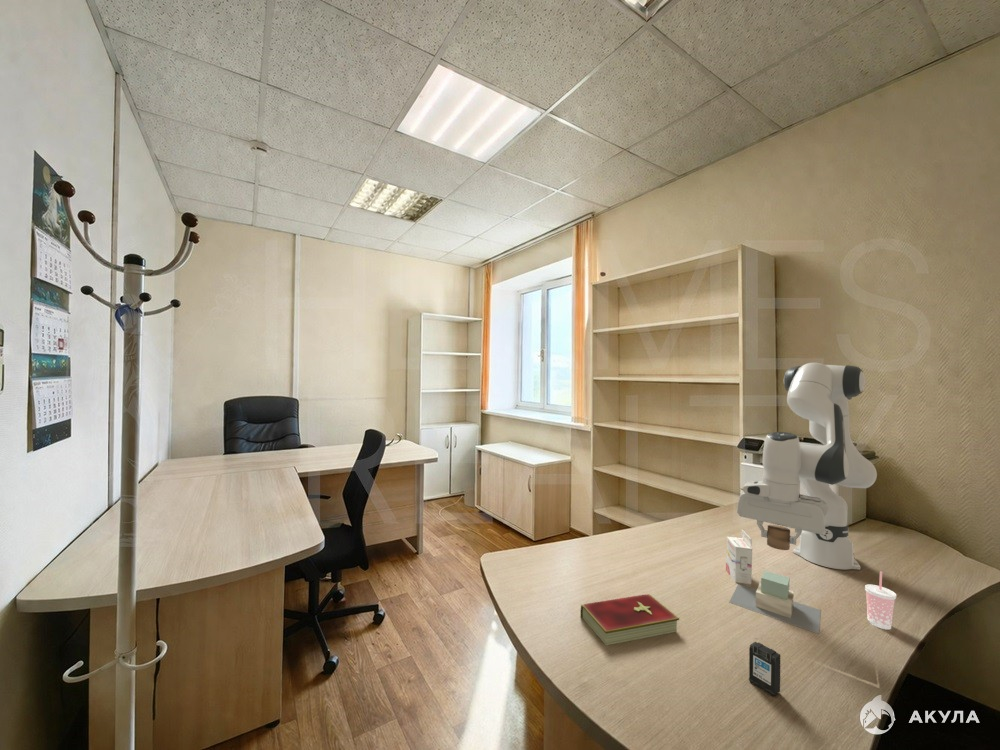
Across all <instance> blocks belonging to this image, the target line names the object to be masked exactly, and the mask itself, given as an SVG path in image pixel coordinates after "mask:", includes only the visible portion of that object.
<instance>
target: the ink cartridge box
mask: <svg viewBox="0 0 1000 750" xmlns="http://www.w3.org/2000/svg"><path fill="white" fill-rule="evenodd" d="M752 541H753V540H752V538H751V537H750V536H749V535H748V533H746V532H745V530H744V529H741V537H735V536H726V556H725V557H726V560H725V570H726V572H727V574H728V575H729V576H730V577H731V579H732V580H733V582H734V583H738V584H746V585H752V571H753V569H752V567H753V542H752Z"/></svg>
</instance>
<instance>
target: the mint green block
mask: <svg viewBox="0 0 1000 750" xmlns="http://www.w3.org/2000/svg"><path fill="white" fill-rule="evenodd" d="M790 579H791V577H788V576H786V575H782V574H779V573H775V572H773V571H768V570H765V569H764V570H763V572H762V575H761V577H760V581H761V592H762V593H765V594H769V595H772V596H775V597H778V598H781V599H784V600H787V598H788V594H789V590H790V582H791V581H790Z"/></svg>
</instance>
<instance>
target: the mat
mask: <svg viewBox="0 0 1000 750" xmlns="http://www.w3.org/2000/svg"><path fill="white" fill-rule="evenodd" d="M756 591H757V589H756V588H753V587H750V586H747V585H743V584H742V583H738V584H737V586H736V588H735V589H734V592H733V593H732V596H731V598H730V599H729V600H728V603H729V604H732V605H735V606H738V607H740V608H744V609H747V610H749V611H752V612H755V613H758V614H762V615H763V616H767V617H769V618H772V619H775V620H777V621H781V622H783V623H786V624H790V625H792V626H795V627H798V628H801V629H803V630H807V631H810V632H812V633H815V634H818V635H819V634H820V628H821V627H820V625H821V614H822V613H821V612H822V609H819V608H816V607H812V606H809V605H806V604H803V603H801V602H797V601H794V602H793V610H792V615H791V618H788V617H785V616H782V615H779V614H776V613H774V612H771V611H768V610H765V609H762V608H759V607H756Z"/></svg>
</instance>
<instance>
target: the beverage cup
mask: <svg viewBox="0 0 1000 750" xmlns="http://www.w3.org/2000/svg"><path fill="white" fill-rule="evenodd" d="M878 584H879V585H876V584H865V585H864V590H865V592H866V594H865V595H866V611H867V612H866V613H867V617H866V618H867V620H868V621H869V624H871V625H872V626H873V627H876V628H880V629H881V630H891V629H892V624H893V616H894V609H895V607H894V605H895V601H896V599H897V593H895V592H894V591H893V590H891V589H889V588H887V587H885V586H883V585H882V584H883V571H881V570H880V571H879V583H878Z"/></svg>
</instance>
